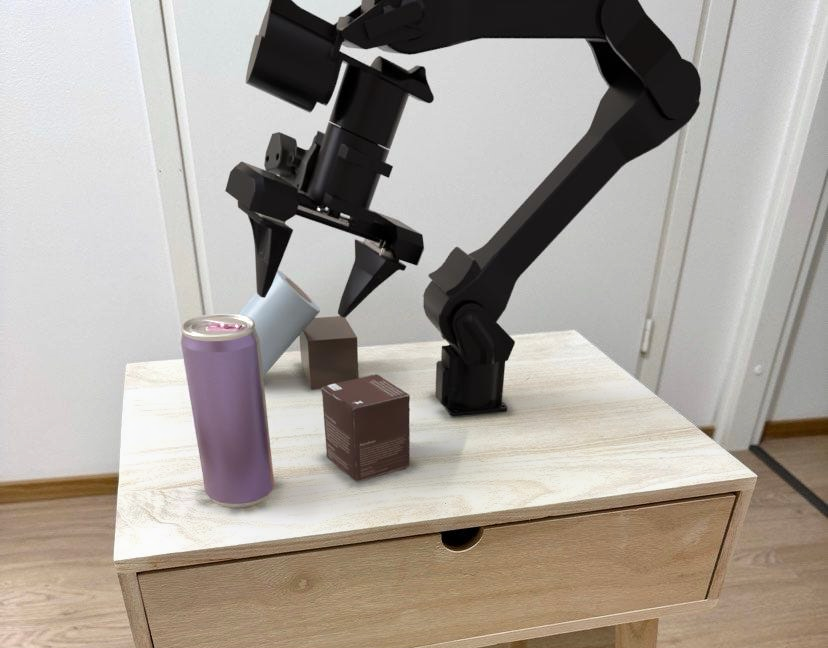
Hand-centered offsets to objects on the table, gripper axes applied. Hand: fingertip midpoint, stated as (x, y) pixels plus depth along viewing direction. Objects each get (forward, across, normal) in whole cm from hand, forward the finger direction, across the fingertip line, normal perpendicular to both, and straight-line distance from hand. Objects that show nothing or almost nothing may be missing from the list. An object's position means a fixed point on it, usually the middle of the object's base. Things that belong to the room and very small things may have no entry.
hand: (302, 306), depth 73 cm
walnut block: (+9, -12, -8) cm, 17 cm away
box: (+10, -4, +13) cm, 17 cm away
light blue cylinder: (+12, -6, -11) cm, 17 cm away
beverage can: (+14, +8, +12) cm, 20 cm away
